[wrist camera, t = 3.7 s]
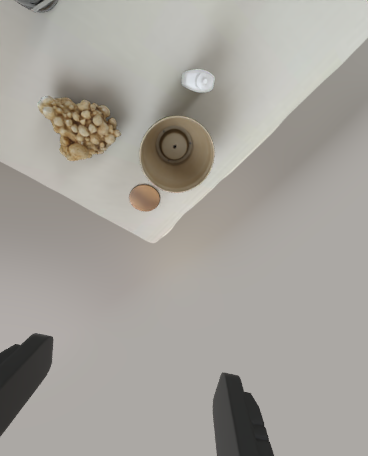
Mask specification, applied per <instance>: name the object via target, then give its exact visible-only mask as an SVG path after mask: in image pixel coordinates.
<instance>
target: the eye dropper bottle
mask: <svg viewBox="0 0 368 456" xmlns="http://www.w3.org/2000/svg"><path fill="white" fill-rule="evenodd" d="M214 82H215V77H214V76H213V75H212V74H211V73H210V72H208V71H206V70H202V69H193V70H189V71H185V72H184V73H183V74H182V82H181V83H182V85H183V86H184V87H185V88H187V89H189V90H192V91H195V92H200V93H204V92H209V91H211V90H212V89H213V87H214Z"/></svg>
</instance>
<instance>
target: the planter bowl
mask: <svg viewBox="0 0 368 456" xmlns="http://www.w3.org/2000/svg"><path fill="white" fill-rule="evenodd" d="M174 145H176V148H173V146H174ZM139 159H140V165H141V168H142V171H143V173H144V175H145V176H146V178H147V179H148V180H149V181H150V182H151V183H152V184H153V185H154V186H156V187H157V188H159V189H161V190H163V191H166V192H171V193H181V192H186V191H189V190H192V189H194V188H196V187H197V186H199V185H200V184H201V183H202V182H203V181H204V180H205V179H206V178H207V176H208V175H209V173H210V171H211V169H212V166H213V163H214V145H213V141H212V139H211V136H210V135H209V133H208V131H207V130H206V129H205V128H204V127H203V126H202V125H201V124H200V123H199V122H197V121H195V120H194V119H191V118H189V117H185V116H169V117H165V118H163V119H161V120H159V121H157V122H156V123H155V124H154V125H152V126H151V127H150V128H149V130H148V131H147V132H146V134H145V135H144V137H143V140H142V142H141V146H140V151H139Z"/></svg>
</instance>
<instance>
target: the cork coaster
mask: <svg viewBox="0 0 368 456" xmlns="http://www.w3.org/2000/svg"><path fill="white" fill-rule="evenodd" d="M129 198H130V202H131V204H132V205H133V207H135V208H136V209H138V210H140V211H151V210H153V209H155V208H156V207H157V206H158V204H159V201H160V197H159V194H158V192H157V191H156V189H154V188H153V187H151V186H149V185H139V186H136V187H135V188H133V189H132V191H131V192H130V196H129Z"/></svg>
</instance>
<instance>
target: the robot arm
mask: <svg viewBox="0 0 368 456" xmlns="http://www.w3.org/2000/svg"><path fill="white" fill-rule="evenodd" d="M15 1H16V2H18V3H19V4H21V5H22V6H24V7H26V8H28V9H30V10H32V11H34V12H47V11H49V10H51V9H52V8H53V7H54V6H55V4H56V3H57V1H58V0H15ZM52 350H53V337H51V336H47V335H42V334H37V333H35V334H33V335H31V336H30V337H29V338H28V339H27V340H26V341H25V342H24V343H22V344H21V345H18V344H15V345H13V346H11V347H10V348H8V349H6V350H4V351H3V352H1V353H0V436H1V435H2V434H3V432H4V431H5V430H6V429H7V427H8V426H9V425H10V423H11V422H12V421H13V419H14V418H15V417H16V415H17V414H18V413H19V411H20V410H21V409H22V407H23V406H24V405H25V403H26V402H27V401H28V399H29V398H30V397H31V396H32V394H33V393H34V392H35V390H36V389H37V388H38V386H39V385H40V384H41V382H42V381H43V379H44V378H45V377H46V375H47V373H48V371H49V369H50V367H51V363H52ZM213 418H214V419H213V420H214V429H215V440H216V450H217V456H274V454H273V451H272V448H271V444H270V442H269V438H268V435H267V432H266V428H265V427H264V422H263V419H262V415H261V412H260V409H259V406H258V405H257V403H256V401H255V400H254V398H253V396H252V395H251V393H247V392H244V391H243V387H242V383H241V379H240V377H239V376H237V375H233V374H228V373H222V374H221V376H220V379H219V383H218V386H217V389H216V392H215V395H214V399H213Z"/></svg>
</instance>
